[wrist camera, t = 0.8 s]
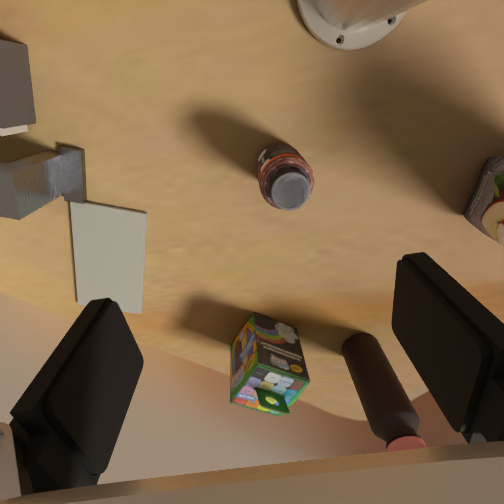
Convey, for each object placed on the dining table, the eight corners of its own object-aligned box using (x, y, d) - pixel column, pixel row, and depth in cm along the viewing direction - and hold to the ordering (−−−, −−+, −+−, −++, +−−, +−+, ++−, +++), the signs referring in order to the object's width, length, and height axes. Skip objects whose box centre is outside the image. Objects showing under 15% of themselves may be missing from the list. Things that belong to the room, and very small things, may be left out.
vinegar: (381, 352, 57) (443, 470, 39) (346, 363, 58) (391, 482, 40) (373, 327, 54) (437, 443, 36) (337, 339, 55) (382, 457, 37)
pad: (72, 199, 41) (70, 200, 40) (147, 212, 42) (146, 214, 42) (79, 302, 49) (77, 305, 49) (142, 311, 51) (141, 314, 50)
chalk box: (229, 345, 55) (225, 425, 42) (253, 310, 51) (257, 385, 38) (273, 361, 57) (282, 441, 44) (299, 328, 53) (317, 405, 40)
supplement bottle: (247, 157, 39) (249, 180, 29) (288, 132, 38) (305, 148, 28) (269, 195, 42) (277, 229, 32) (308, 174, 40) (330, 202, 30)
